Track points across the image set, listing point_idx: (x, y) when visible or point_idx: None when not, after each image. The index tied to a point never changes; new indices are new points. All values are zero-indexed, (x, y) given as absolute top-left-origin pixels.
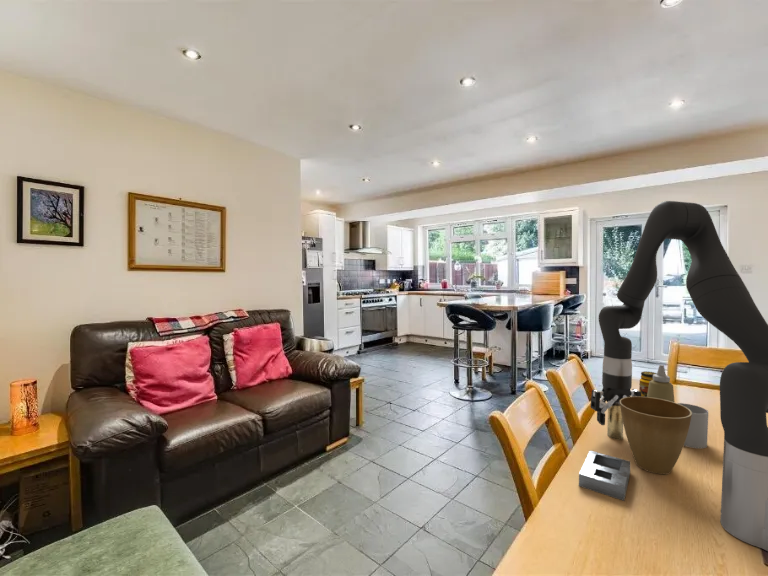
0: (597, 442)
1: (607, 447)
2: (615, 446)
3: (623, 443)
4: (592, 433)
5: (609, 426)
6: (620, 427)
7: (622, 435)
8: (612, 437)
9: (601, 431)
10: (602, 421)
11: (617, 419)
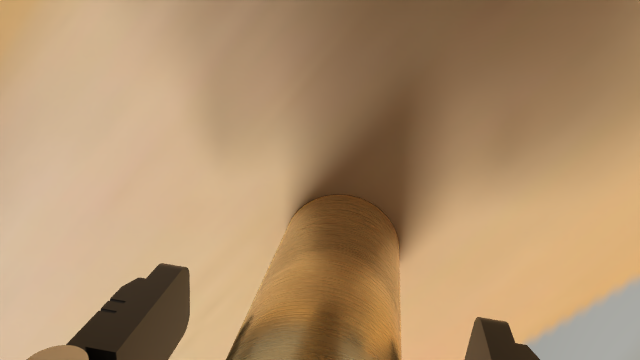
0: (598, 185)
1: (595, 82)
2: (496, 87)
3: (370, 126)
4: None
5: (399, 306)
6: (326, 246)
7: (306, 213)
8: (392, 226)
9: None
10: (512, 352)
11: (351, 312)
